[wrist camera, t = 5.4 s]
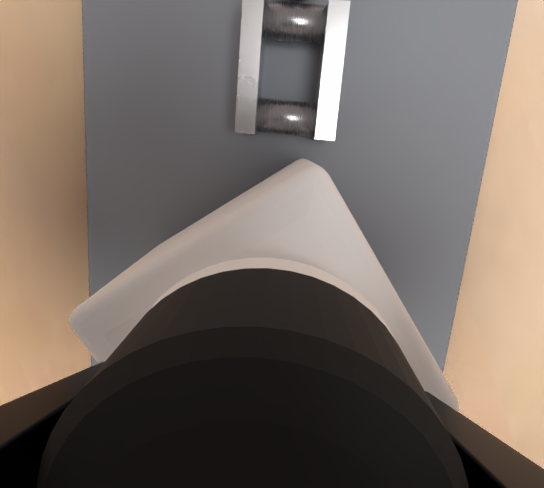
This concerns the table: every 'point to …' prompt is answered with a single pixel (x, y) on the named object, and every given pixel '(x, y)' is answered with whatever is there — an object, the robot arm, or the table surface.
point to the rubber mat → (288, 148)
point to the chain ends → (296, 28)
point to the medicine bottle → (256, 360)
